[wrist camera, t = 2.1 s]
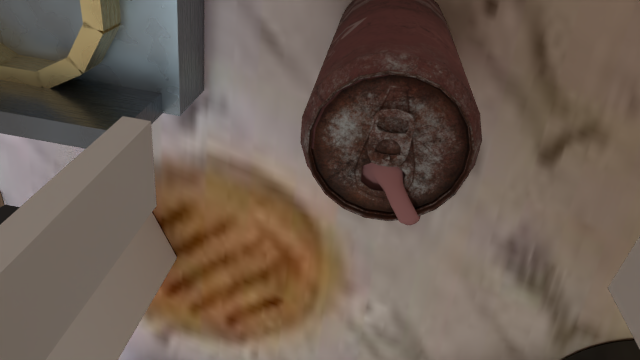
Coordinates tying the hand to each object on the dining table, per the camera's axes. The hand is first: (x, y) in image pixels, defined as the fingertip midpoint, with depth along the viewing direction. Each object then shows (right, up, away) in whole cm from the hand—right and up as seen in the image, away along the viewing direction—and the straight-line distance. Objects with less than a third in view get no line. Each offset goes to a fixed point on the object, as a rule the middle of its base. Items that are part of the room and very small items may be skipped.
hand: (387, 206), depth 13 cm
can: (+2, +9, +15) cm, 17 cm away
